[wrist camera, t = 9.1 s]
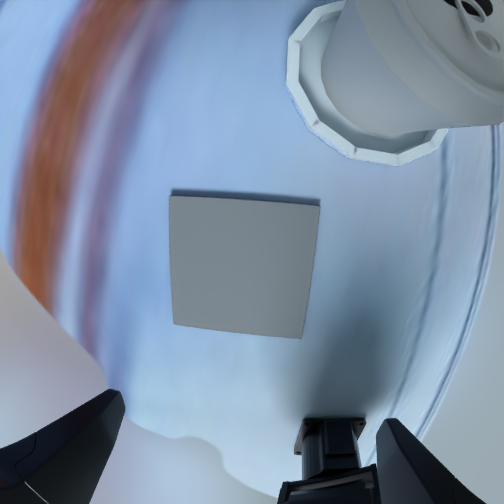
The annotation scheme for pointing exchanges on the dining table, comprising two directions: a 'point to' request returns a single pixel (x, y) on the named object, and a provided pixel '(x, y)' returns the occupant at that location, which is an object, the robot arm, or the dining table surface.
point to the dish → (323, 111)
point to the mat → (241, 264)
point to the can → (417, 64)
